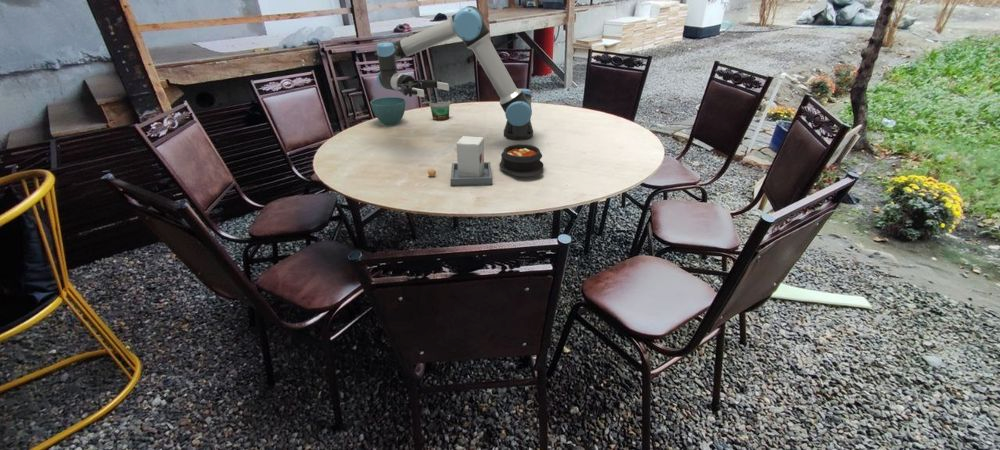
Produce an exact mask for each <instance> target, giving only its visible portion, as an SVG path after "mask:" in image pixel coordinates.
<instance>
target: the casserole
mask: <svg viewBox="0 0 1000 450" xmlns="http://www.w3.org/2000/svg"><path fill="white" fill-rule="evenodd" d="M500 155H501V159H500V162H499V167H500V169H501V170H503V171H505V172H507V173H510V174H512V175H514V176H515V177H518V178H531V177H536V176H540V175H542V174H544V170H543V168H544V163H543V161H542V160H541V159H542V158H543V154H542V152H541V149H540V148H539V147H537V146H535V145H532V144H524V143H520V144H519V143H518V144H516V143H515V144H511V145H508V146H506V147H504V149H503V151H502V152H501V154H500Z"/></svg>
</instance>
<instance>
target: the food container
mask: <svg viewBox="0 0 1000 450" xmlns="http://www.w3.org/2000/svg"><path fill="white" fill-rule="evenodd" d="M450 105H451V101H450V99H448V100H446V101H437V102H431V101H430V102H429V104H428V106H429V107H430V111H431V117H432V120H433V121H437V122H442V121H443V122H444V121H448V120H449V119H450Z"/></svg>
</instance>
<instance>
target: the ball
mask: <svg viewBox="0 0 1000 450" xmlns="http://www.w3.org/2000/svg"><path fill="white" fill-rule="evenodd" d="M436 174H437V171H436V169H434V168H429V169H428V170H427V175H428V176H429V177H434V176H436Z"/></svg>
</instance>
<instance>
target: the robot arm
mask: <svg viewBox="0 0 1000 450" xmlns="http://www.w3.org/2000/svg"><path fill="white" fill-rule="evenodd" d="M490 34H491V33H490V30H489V29H488V26H487V25H486V23H485V17H484V14H483V12H482V11H481V10H480V8H478V7H476V6H473V5H469V6H468V5H467V6H465V7H462V8H461V9H459V10H458V11H457V12H456V13H454V14H452V15H451V16H450V18H449V19H447V20H444V21H442V22H440V23H438V24H435V25H433V26H431V27H428V28H425V29H423V30H421V31H418V32H416V33H414V34H411V35H410V36H406V37H405V38H402V39H400V40H398V41H395V42H389V41H388V42H385V41H384V42H379V43H377V44H376V54H377V55H376V56H377V61H378V67H379V72H378V73H377V75H376V76H377V77H376V82H377V84H378V86H380V87H382V88H384V89H386V90H392V91H395V92H399V93H400V94H401V93H402V94H403V95H404V96H408V97H411V98H412V97H413V96H416V97H421V98H425V89H436V88H437V89H438V90H443V91H447V92H449V91H450V86H449V85H450V84H449V83H447V82H442V80H440V79H437V80H436V79H433V80H432V79H421V80H418V79H415V78H414V77H413V76H412V75H408V74H404V73H398V67H397V62H399V61H400V60H403V59H405V58H407V57H410V56H412V55H414V54H417V53H419V52H422V51H424V50H427V49H430V48H432V47H434V46H437V45H439V44H441V43H444V42H446V41H449V40H451V39H455V38H459V39H461V40H462V42H463V43H464V46H465V47H466V48H467V49H468V50H471V51H472V52H473V53H474V55H475V57H476V59H477V61H478V62H479V65H481V68H482V69H483V71H484V72H485V75H486V76H487V77H488V79H489V81H490V83H491V84H492V87H493V88H494V89H495V92H496V93H497V96H499V98H500V99H499V105H500V106H501V108H502V110H503V111H504V114H505V118H506V123H505V126H504V128H503V138H506V139H508V140H512V141H525V140H531V139H532V138H534V133H535V132H534V128H533V124H532V122H531V120H532V119H531V118H532V115H533V110H532V109H533V108H532V90H531V89H529V88H517V86H516V84H515V82H514V81H513V78H512V77H511V75H510V73H509V71H508V70H507V67H505V65H504V62H503V61H502V59H501V56H499V54H498V52H497V50H496V48H495V47H494V44H493V43H492V41H491V39H490Z"/></svg>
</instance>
